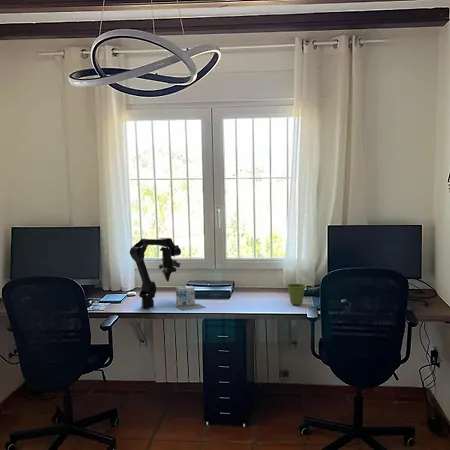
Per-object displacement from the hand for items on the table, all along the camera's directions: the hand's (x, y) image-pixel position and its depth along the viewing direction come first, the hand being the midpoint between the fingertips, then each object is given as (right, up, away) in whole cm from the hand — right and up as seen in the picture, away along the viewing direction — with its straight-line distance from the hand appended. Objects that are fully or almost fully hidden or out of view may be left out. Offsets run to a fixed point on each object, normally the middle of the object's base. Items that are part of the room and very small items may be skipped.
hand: (167, 281), depth 334 cm
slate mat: (+16, -14, -17) cm, 27 cm away
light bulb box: (+12, -14, -8) cm, 20 cm away
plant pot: (+81, -12, -14) cm, 83 cm away
